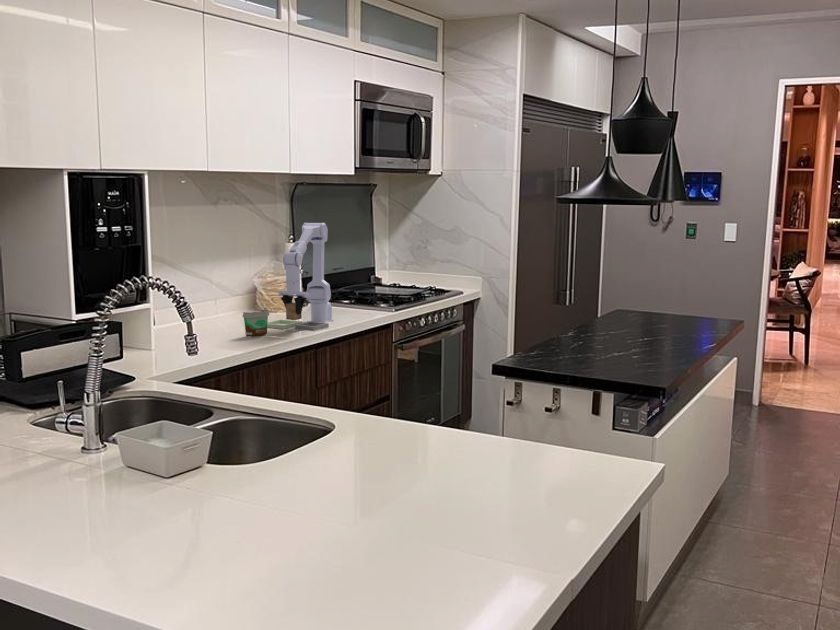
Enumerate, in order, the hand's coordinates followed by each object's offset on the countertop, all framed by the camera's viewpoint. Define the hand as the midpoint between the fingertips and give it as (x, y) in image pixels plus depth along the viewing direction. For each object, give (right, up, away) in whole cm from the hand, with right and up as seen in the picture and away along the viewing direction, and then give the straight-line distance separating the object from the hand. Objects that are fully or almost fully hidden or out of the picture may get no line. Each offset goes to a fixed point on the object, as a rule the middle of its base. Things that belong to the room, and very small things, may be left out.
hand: (294, 313), depth 345 cm
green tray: (-7, -6, +13) cm, 16 cm away
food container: (-13, -9, -7) cm, 17 cm away
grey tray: (+6, -6, +8) cm, 12 cm away
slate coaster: (0, -7, +1) cm, 8 cm away
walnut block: (0, -2, 0) cm, 2 cm away
